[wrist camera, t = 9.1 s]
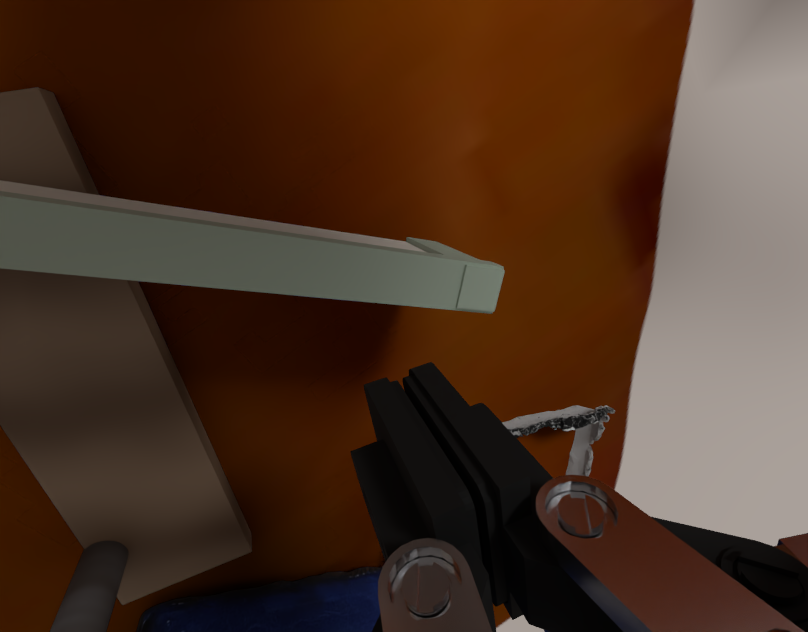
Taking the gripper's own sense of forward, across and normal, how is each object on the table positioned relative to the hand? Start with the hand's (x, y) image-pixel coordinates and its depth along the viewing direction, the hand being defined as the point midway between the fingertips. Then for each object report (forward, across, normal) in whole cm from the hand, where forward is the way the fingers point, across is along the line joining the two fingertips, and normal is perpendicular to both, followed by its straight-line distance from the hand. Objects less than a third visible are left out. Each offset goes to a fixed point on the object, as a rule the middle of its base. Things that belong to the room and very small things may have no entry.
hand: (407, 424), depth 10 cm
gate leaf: (+9, +2, -3) cm, 10 cm away
